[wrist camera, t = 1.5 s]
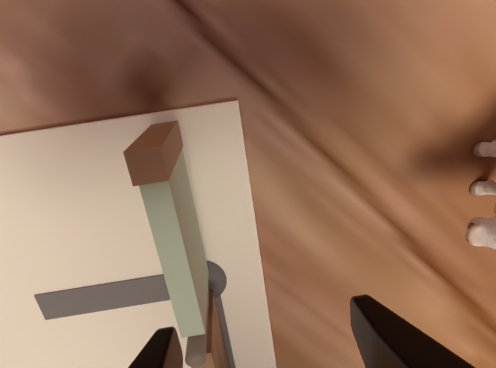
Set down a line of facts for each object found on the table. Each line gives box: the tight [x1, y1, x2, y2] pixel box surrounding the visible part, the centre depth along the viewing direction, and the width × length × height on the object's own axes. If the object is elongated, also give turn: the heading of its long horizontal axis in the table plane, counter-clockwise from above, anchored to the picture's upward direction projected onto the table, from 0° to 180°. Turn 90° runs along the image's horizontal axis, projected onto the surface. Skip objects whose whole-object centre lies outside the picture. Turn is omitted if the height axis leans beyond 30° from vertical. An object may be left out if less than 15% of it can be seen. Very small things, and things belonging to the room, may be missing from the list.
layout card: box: [0, 100, 277, 368], centre depth 21 cm, size 22×20×1 cm
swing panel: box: [123, 120, 209, 338], centre depth 17 cm, size 10×1×5 cm, turn 8°
